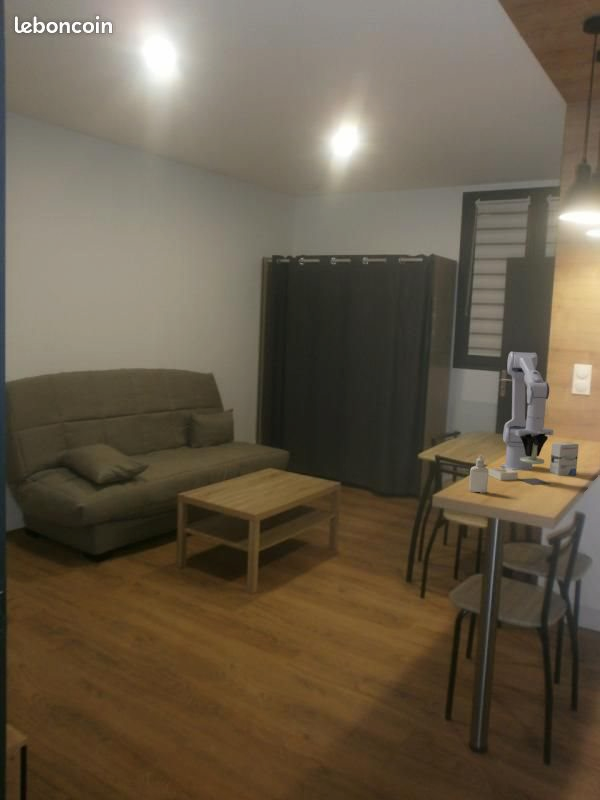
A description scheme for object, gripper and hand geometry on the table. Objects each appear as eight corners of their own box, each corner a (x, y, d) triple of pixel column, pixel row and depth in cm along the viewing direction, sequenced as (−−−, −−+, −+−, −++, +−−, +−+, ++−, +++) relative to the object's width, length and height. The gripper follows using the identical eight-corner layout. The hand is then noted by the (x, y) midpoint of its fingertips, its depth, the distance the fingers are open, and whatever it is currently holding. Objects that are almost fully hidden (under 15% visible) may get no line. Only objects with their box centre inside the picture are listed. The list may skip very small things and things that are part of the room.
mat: (536, 479, 235) (536, 478, 235) (551, 485, 228) (551, 483, 228) (517, 480, 232) (517, 479, 232) (532, 486, 225) (532, 485, 225)
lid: (533, 458, 235) (535, 442, 234) (549, 463, 227) (550, 446, 226) (515, 459, 232) (516, 443, 231) (530, 464, 224) (531, 447, 224)
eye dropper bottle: (483, 494, 211) (486, 457, 210) (466, 491, 215) (469, 455, 213) (488, 492, 215) (491, 455, 213) (472, 488, 218) (474, 453, 217)
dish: (504, 475, 238) (505, 467, 238) (517, 480, 232) (517, 472, 231) (488, 476, 236) (488, 468, 236) (500, 481, 229) (501, 473, 229)
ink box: (566, 472, 248) (569, 441, 247) (576, 475, 244) (579, 444, 242) (548, 473, 245) (551, 442, 244) (558, 476, 241) (561, 444, 239)
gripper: (525, 419, 221) (522, 459, 223) (560, 418, 226) (557, 457, 228) (512, 416, 228) (509, 454, 230) (546, 415, 233) (543, 453, 235)
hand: (532, 455), depth 229 cm, fingers closed on lid, 3 cm apart
